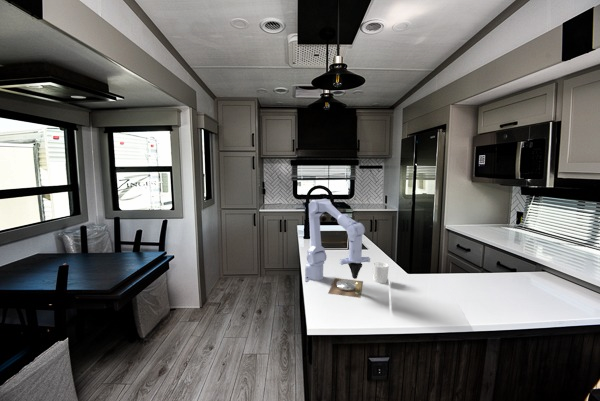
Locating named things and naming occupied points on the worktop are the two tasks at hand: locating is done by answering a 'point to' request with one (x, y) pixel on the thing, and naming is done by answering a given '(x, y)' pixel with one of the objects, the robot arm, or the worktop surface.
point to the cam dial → (348, 285)
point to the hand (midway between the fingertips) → (354, 277)
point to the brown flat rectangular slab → (345, 293)
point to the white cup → (380, 272)
